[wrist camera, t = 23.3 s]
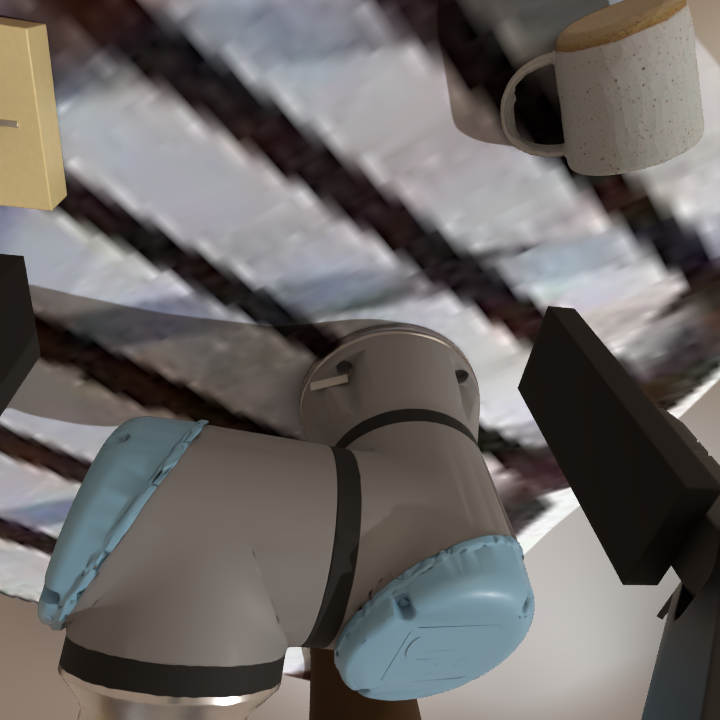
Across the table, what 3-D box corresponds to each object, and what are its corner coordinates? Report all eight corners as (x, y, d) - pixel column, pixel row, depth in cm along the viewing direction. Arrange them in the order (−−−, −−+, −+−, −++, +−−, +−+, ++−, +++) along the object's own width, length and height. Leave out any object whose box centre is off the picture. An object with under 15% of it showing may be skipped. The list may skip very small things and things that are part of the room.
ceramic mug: (649, -21, 35) (725, -18, 28) (662, 113, 39) (731, 141, 33) (480, 56, 36) (516, 76, 30) (511, 177, 41) (549, 216, 34)
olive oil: (286, 601, 65) (283, 894, 45) (349, 552, 62) (377, 846, 41) (355, 632, 70) (381, 909, 49) (418, 587, 66) (475, 868, 46)
